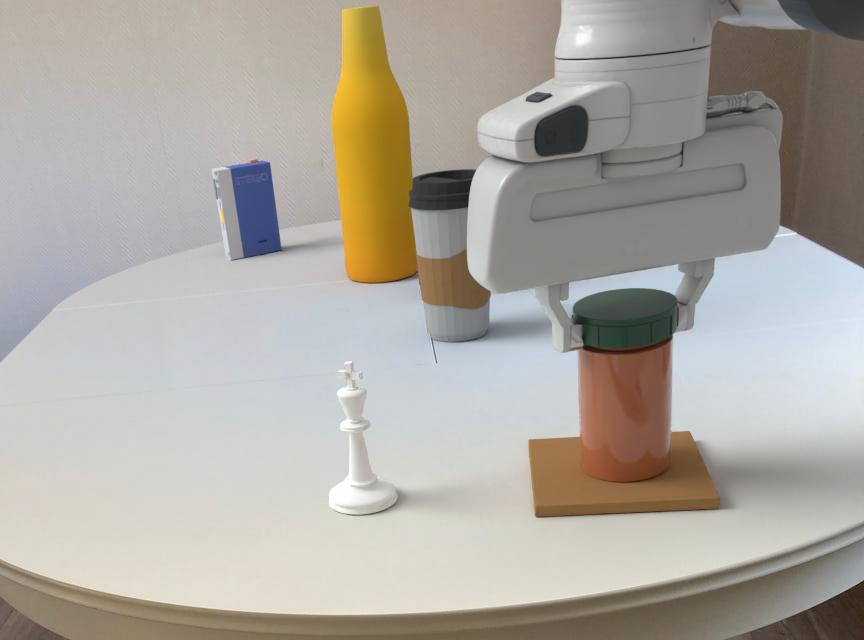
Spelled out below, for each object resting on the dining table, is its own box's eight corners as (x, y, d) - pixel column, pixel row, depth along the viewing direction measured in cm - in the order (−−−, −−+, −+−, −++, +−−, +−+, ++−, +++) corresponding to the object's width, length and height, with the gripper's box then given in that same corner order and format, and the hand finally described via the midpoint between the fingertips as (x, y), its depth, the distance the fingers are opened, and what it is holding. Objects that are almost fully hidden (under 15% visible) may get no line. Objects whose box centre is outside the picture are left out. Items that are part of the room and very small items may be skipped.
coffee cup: (463, 317, 113) (456, 166, 105) (515, 330, 107) (512, 171, 99) (401, 335, 109) (389, 180, 102) (452, 350, 104) (443, 187, 96)
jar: (663, 441, 77) (666, 296, 71) (676, 478, 72) (681, 325, 66) (577, 448, 78) (572, 306, 72) (584, 486, 72) (580, 335, 67)
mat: (689, 440, 79) (690, 430, 79) (719, 508, 69) (720, 497, 69) (528, 448, 81) (528, 439, 80) (535, 517, 71) (535, 506, 70)
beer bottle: (335, 284, 131) (306, 13, 116) (360, 265, 138) (336, 9, 123) (406, 283, 128) (386, 5, 113) (428, 264, 135) (412, 1, 120)
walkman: (274, 247, 153) (262, 157, 147) (281, 250, 151) (269, 159, 145) (223, 257, 150) (209, 166, 144) (230, 260, 148) (215, 168, 142)
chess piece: (376, 519, 73) (362, 377, 67) (316, 509, 75) (297, 371, 69) (409, 490, 76) (398, 353, 71) (351, 482, 78) (336, 348, 73)
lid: (563, 323, 72) (562, 297, 71) (659, 309, 72) (660, 282, 71) (586, 354, 67) (586, 326, 66) (690, 338, 67) (691, 310, 66)
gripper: (755, 83, 67) (735, 304, 74) (451, 123, 63) (462, 352, 70) (816, 89, 62) (789, 325, 69) (490, 133, 58) (497, 379, 65)
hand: (622, 339), depth 70 cm, fingers closed on lid, 6 cm apart
